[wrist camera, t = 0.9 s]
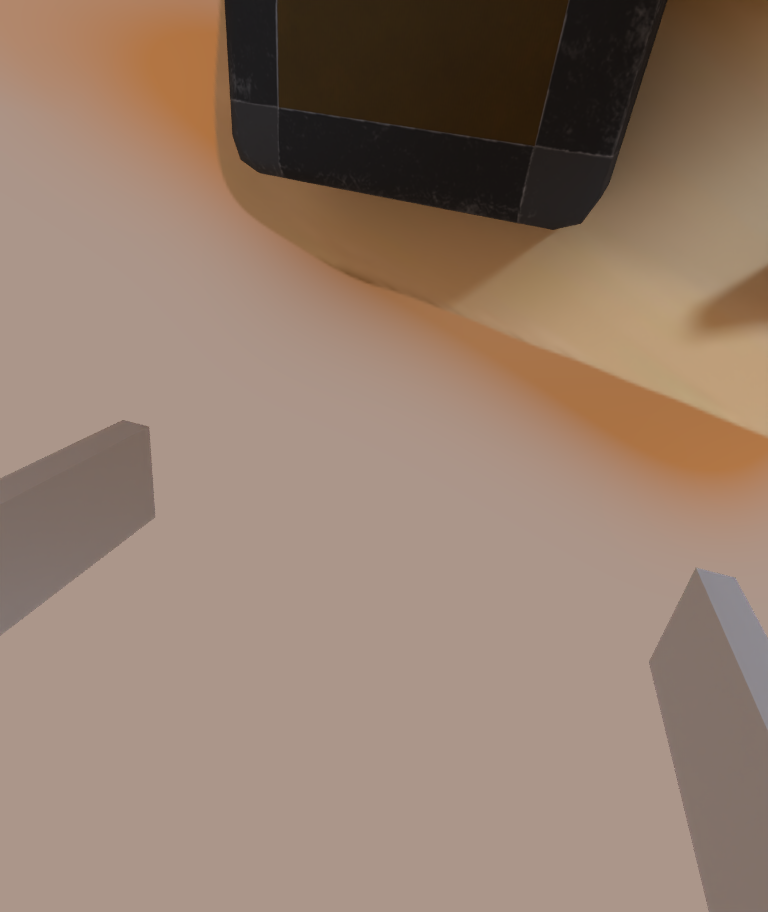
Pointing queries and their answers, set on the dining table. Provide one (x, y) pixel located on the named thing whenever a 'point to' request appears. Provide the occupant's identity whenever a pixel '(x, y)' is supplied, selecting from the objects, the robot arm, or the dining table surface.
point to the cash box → (441, 98)
